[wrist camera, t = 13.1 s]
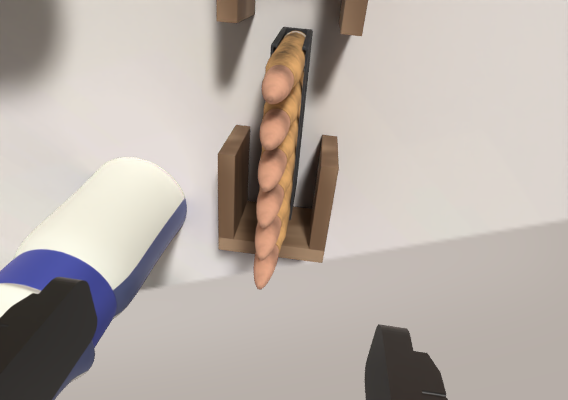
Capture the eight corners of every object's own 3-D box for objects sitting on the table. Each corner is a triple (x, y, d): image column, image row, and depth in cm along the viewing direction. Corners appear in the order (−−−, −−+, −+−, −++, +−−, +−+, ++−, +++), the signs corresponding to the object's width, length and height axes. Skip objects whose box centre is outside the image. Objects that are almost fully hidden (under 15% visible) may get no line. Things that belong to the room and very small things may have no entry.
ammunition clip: (296, 185, 28) (277, 305, 18) (271, 182, 28) (239, 300, 18) (313, 29, 23) (299, 73, 12) (282, 26, 23) (244, 67, 12)
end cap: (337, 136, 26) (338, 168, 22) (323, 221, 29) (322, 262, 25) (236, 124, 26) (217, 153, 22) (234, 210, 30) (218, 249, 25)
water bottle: (188, 255, 33) (-80, 786, 11) (90, 229, 32) (-378, 726, 11) (201, 173, 28) (-189, 776, 7) (89, 142, 28) (-682, 677, 7)
